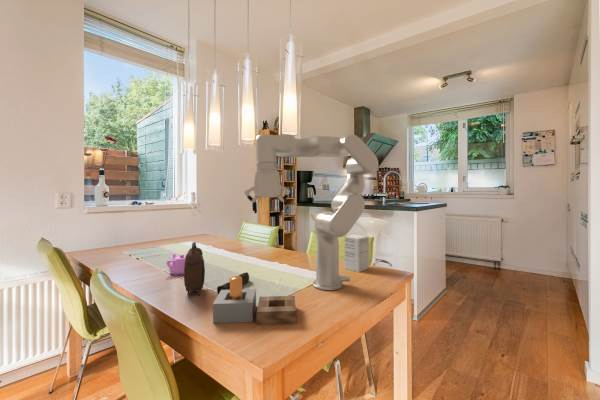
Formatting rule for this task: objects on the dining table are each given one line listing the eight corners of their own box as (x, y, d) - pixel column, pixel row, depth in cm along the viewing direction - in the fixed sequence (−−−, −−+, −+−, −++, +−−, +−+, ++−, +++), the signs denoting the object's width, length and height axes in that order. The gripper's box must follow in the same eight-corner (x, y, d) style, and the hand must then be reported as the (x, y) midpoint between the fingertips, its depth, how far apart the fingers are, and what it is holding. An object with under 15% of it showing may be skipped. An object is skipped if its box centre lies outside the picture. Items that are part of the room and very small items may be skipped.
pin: (243, 311, 95) (242, 276, 94) (241, 316, 91) (241, 279, 90) (231, 311, 94) (230, 276, 94) (229, 316, 90) (228, 280, 90)
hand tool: (224, 297, 108) (224, 285, 107) (216, 295, 109) (216, 283, 109) (253, 282, 125) (253, 272, 124) (246, 281, 126) (246, 270, 126)
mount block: (294, 307, 98) (294, 295, 98) (296, 323, 86) (296, 310, 86) (259, 308, 97) (259, 296, 97) (256, 324, 85) (256, 311, 85)
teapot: (172, 269, 145) (172, 252, 144) (200, 268, 146) (199, 251, 146) (163, 276, 133) (163, 257, 133) (193, 275, 134) (193, 257, 134)
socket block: (256, 305, 99) (255, 289, 99) (252, 321, 87) (252, 302, 87) (221, 306, 98) (221, 289, 98) (213, 323, 86) (212, 303, 86)
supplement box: (354, 265, 151) (354, 234, 151) (369, 268, 145) (369, 236, 144) (343, 268, 145) (343, 236, 144) (358, 272, 138) (358, 238, 137)
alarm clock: (204, 297, 106) (203, 245, 106) (183, 299, 104) (182, 246, 103) (205, 285, 120) (205, 238, 119) (187, 286, 118) (186, 239, 117)
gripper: (289, 167, 111) (290, 210, 112) (244, 168, 110) (246, 212, 111) (289, 166, 104) (291, 212, 105) (242, 167, 102) (244, 214, 103)
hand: (268, 212), depth 108 cm, fingers open, 9 cm apart
